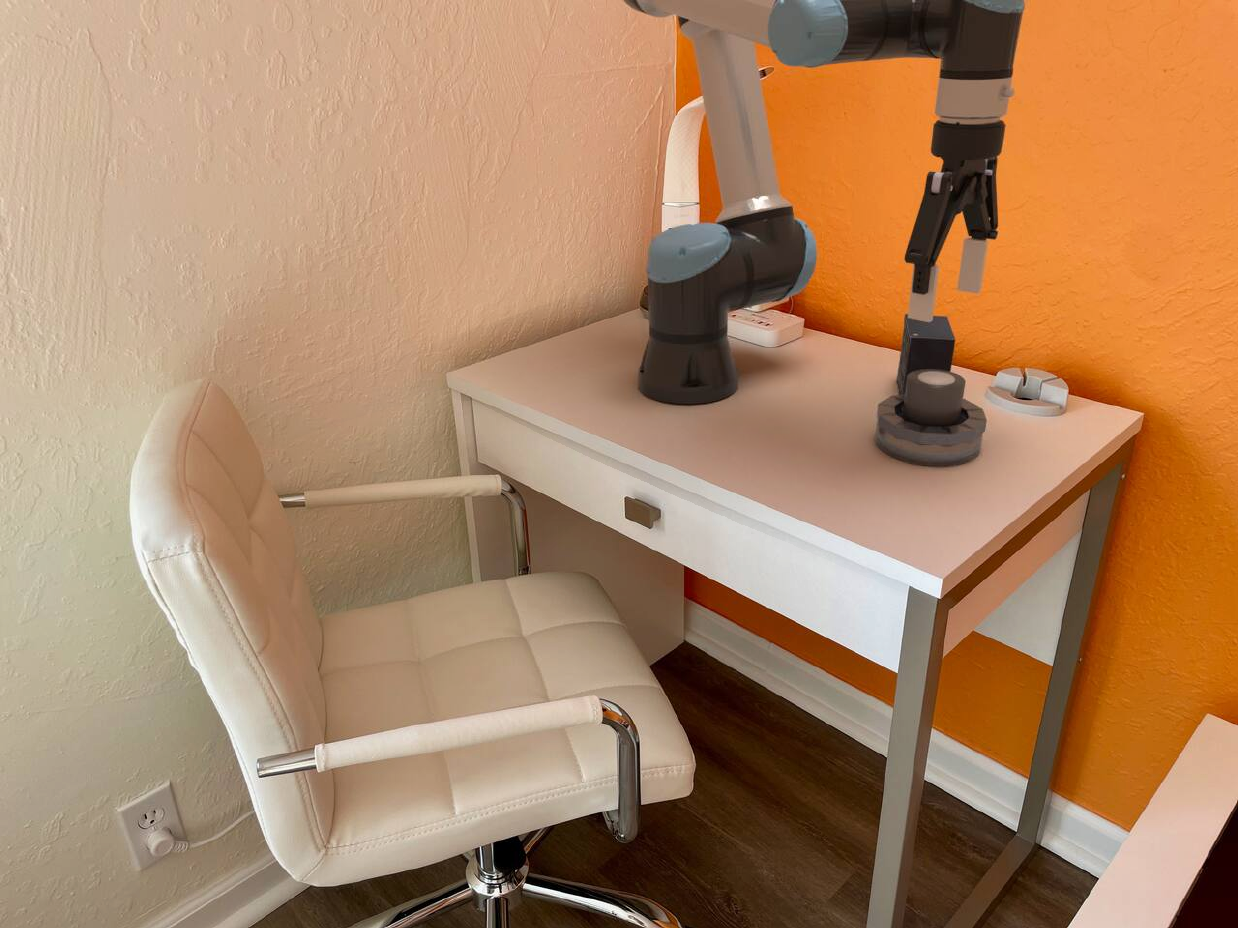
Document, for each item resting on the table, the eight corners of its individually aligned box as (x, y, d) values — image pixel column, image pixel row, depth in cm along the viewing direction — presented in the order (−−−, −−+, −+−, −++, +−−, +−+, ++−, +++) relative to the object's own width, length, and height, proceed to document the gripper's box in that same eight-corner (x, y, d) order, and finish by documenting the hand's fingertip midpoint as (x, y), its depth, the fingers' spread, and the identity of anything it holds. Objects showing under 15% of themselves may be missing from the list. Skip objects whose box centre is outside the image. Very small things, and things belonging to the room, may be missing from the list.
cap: (892, 424, 118) (897, 379, 116) (917, 407, 123) (922, 363, 120) (944, 439, 114) (951, 392, 111) (968, 420, 119) (975, 376, 116)
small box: (948, 409, 129) (958, 338, 125) (900, 407, 131) (908, 337, 126) (940, 381, 139) (949, 314, 134) (895, 379, 140) (902, 313, 135)
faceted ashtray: (857, 447, 120) (860, 416, 118) (903, 415, 128) (907, 385, 126) (953, 476, 112) (958, 443, 110) (996, 439, 120) (1001, 408, 118)
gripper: (954, 135, 91) (929, 339, 101) (1045, 108, 108) (1015, 285, 117) (885, 130, 96) (866, 326, 106) (982, 105, 112) (958, 276, 122)
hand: (945, 305), depth 111 cm, fingers open, 13 cm apart
